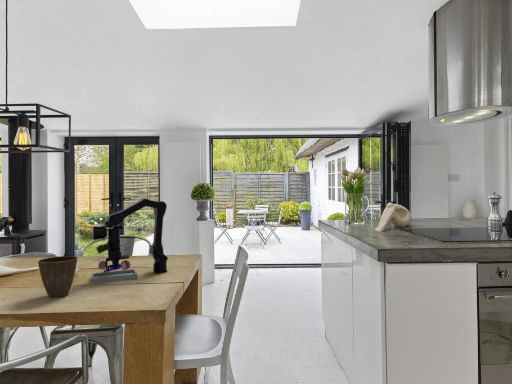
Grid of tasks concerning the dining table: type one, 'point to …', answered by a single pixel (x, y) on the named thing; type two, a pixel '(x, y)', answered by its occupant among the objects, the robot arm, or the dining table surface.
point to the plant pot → (57, 274)
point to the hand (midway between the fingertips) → (114, 267)
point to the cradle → (114, 276)
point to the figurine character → (123, 265)
